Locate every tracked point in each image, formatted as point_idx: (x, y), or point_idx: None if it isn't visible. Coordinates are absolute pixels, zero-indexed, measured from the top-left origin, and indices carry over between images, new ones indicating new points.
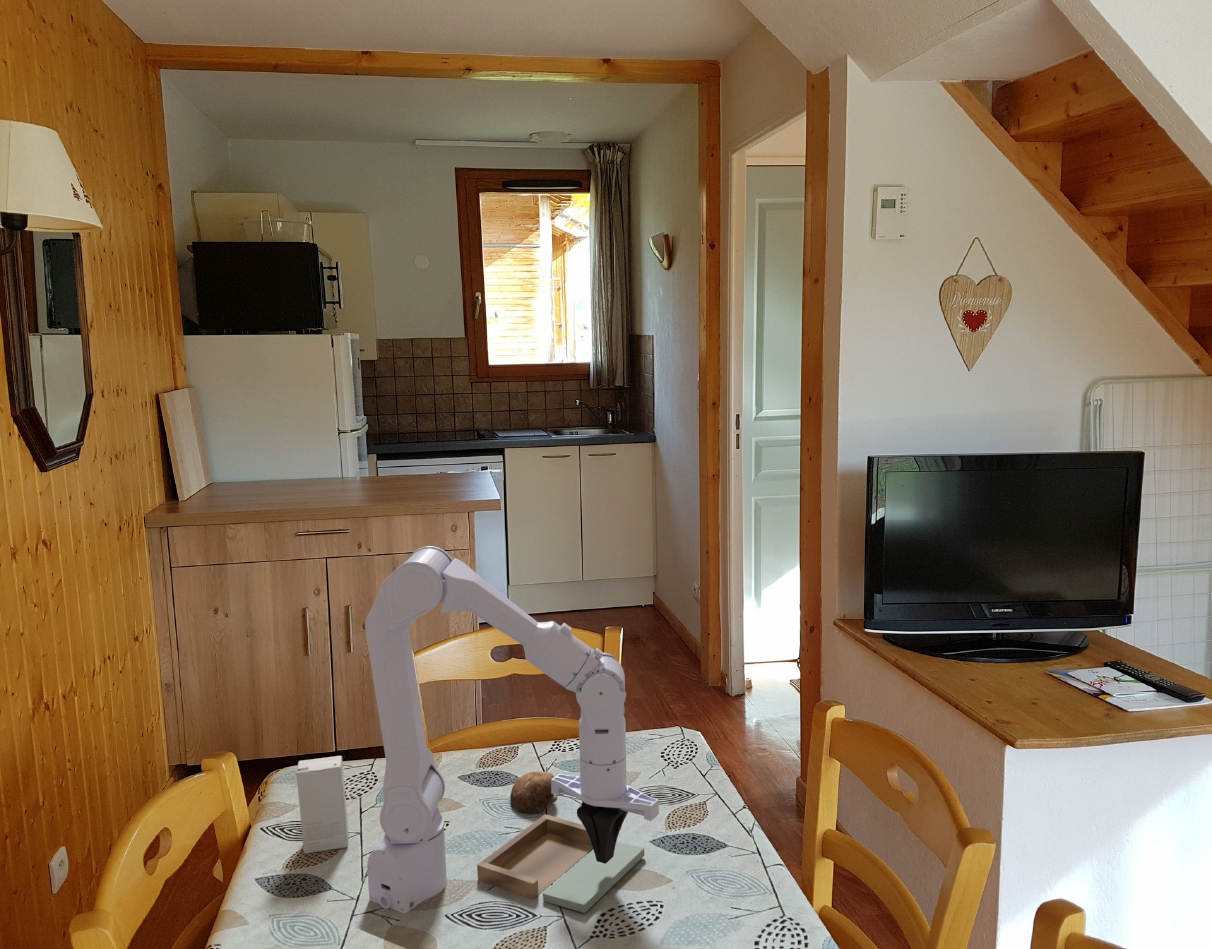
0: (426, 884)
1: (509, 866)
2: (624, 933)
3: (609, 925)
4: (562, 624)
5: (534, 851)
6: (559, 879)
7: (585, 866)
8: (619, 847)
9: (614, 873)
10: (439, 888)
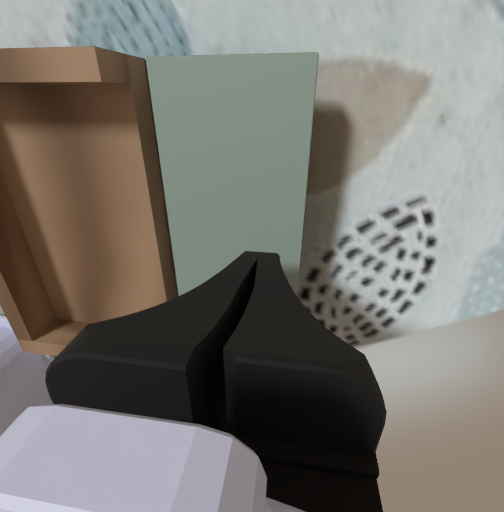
0: (21, 410)
1: (49, 273)
2: (373, 328)
3: (333, 318)
4: None
5: (32, 198)
6: None
7: (199, 242)
8: (226, 94)
9: (293, 249)
10: (33, 377)
